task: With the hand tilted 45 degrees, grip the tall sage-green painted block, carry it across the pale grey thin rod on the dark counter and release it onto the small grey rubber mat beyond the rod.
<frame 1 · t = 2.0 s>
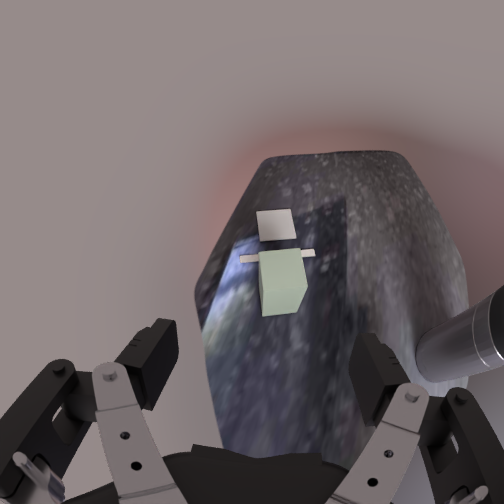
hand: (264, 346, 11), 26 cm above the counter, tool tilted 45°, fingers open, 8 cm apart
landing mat: (275, 225, 47), on the counter
pale grey thin rod: (277, 256, 44), on the counter
sage block: (277, 298, 40), on the counter
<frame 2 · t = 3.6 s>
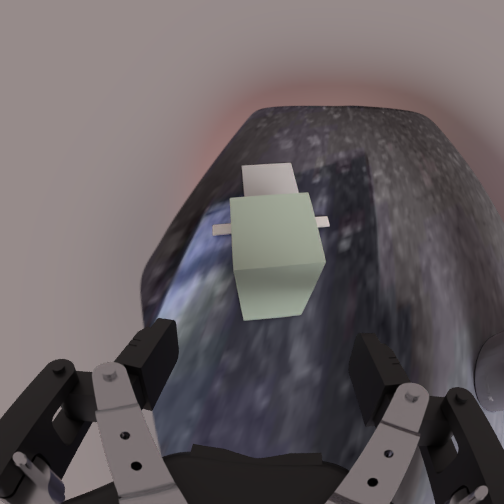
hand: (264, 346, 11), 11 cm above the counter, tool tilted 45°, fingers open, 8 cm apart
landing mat: (269, 183, 31), on the counter
pale grey thin rod: (271, 225, 28), on the counter
sage block: (269, 291, 24), on the counter
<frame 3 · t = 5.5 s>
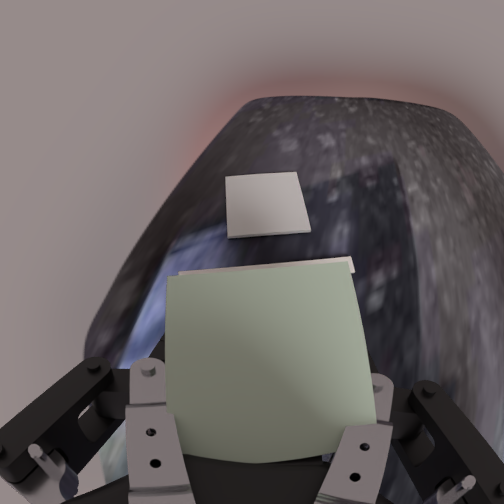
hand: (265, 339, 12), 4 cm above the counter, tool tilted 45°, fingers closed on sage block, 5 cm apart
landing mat: (265, 203, 21), on the counter
pale grey thin rod: (267, 273, 18), on the counter
sage block: (262, 381, 15), on the counter, touching gripper
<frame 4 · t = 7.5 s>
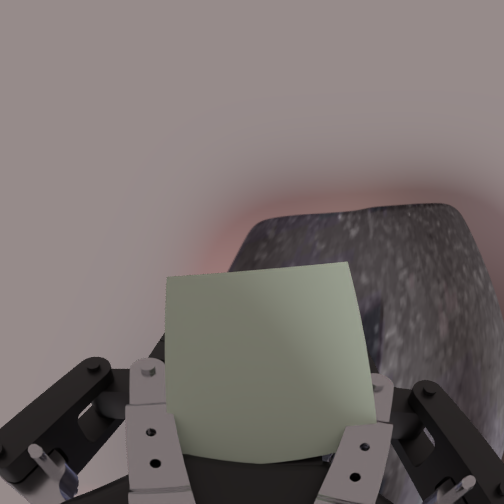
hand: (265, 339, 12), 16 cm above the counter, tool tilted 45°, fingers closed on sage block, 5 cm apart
sage block: (262, 381, 15), point 12 cm above the counter, touching gripper
when the fingers open (6 cm above the counter, at t = 9.8 s): sage block drops 1 cm, resting on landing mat.
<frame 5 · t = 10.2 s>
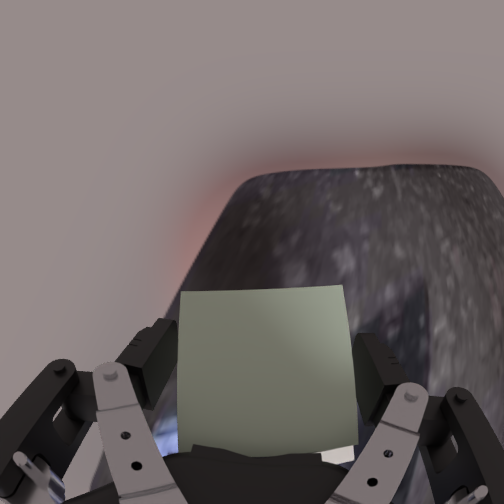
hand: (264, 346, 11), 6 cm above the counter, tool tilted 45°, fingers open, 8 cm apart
pale grey thin rod: (261, 467, 13), on the counter
sage block: (261, 383, 16), resting on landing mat
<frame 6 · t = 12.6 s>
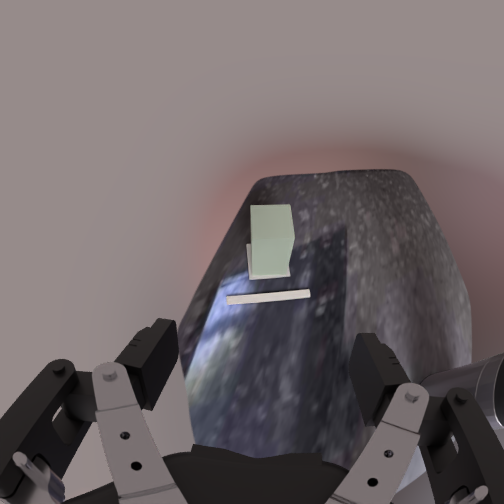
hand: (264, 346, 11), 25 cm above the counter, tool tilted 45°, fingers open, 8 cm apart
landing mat: (267, 260, 42), on the counter
pale grey thin rod: (268, 297, 39), on the counter
sage block: (268, 260, 42), resting on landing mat
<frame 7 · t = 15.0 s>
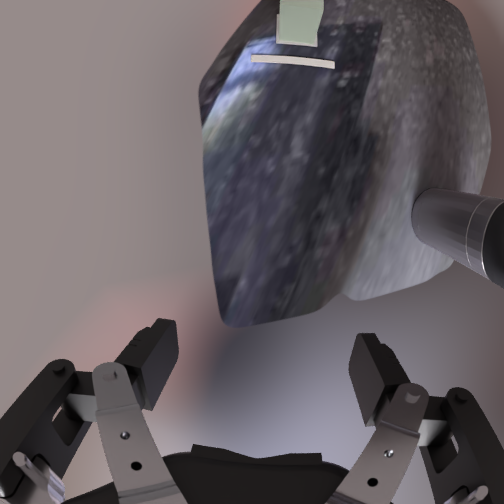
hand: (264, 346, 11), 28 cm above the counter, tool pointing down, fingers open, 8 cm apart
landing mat: (296, 29, 30), on the counter
pale grey thin rod: (293, 60, 31), on the counter
sage block: (297, 29, 30), resting on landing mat
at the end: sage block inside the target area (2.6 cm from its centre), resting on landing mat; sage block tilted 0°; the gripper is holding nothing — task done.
